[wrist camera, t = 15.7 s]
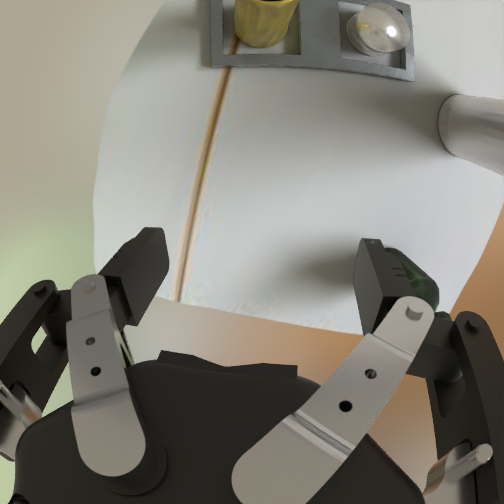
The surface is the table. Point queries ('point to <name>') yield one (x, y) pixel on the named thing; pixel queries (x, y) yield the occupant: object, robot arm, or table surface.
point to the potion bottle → (421, 283)
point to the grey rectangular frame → (333, 38)
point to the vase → (262, 21)
